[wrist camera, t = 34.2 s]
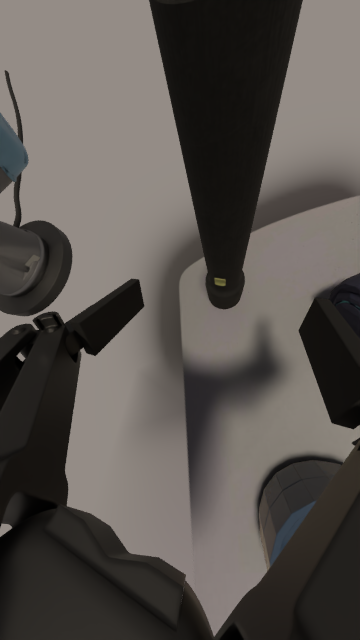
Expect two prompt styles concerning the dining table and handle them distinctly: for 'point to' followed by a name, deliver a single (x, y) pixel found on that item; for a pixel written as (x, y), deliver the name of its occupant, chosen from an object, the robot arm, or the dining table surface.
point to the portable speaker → (348, 301)
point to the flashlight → (225, 115)
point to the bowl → (290, 502)
